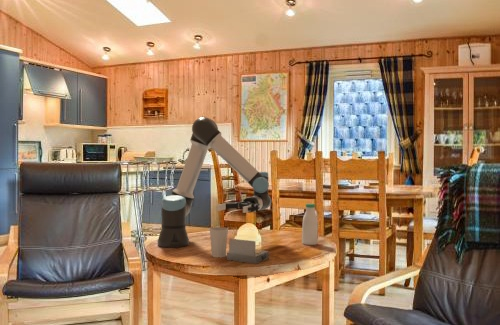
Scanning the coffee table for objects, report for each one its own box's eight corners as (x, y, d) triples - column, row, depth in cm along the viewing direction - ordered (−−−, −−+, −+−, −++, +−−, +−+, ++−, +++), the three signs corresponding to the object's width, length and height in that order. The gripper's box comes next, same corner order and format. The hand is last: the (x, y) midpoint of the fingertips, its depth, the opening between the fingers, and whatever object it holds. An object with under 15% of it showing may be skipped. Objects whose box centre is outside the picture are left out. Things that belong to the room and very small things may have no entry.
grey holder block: (226, 259, 204) (226, 238, 204) (240, 254, 215) (240, 234, 214) (257, 264, 197) (257, 242, 197) (269, 258, 208) (269, 237, 208)
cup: (231, 256, 212) (231, 228, 211) (217, 258, 206) (217, 230, 206) (219, 253, 217) (219, 226, 217) (205, 255, 212) (206, 228, 212)
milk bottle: (317, 245, 236) (317, 204, 236) (301, 244, 238) (301, 204, 237) (318, 242, 244) (318, 203, 243) (302, 241, 245) (303, 202, 245)
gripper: (275, 213, 233) (254, 219, 214) (230, 210, 244) (207, 215, 226) (275, 197, 233) (254, 202, 214) (230, 195, 244) (207, 199, 226)
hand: (230, 208), depth 220 cm, fingers open, 13 cm apart
